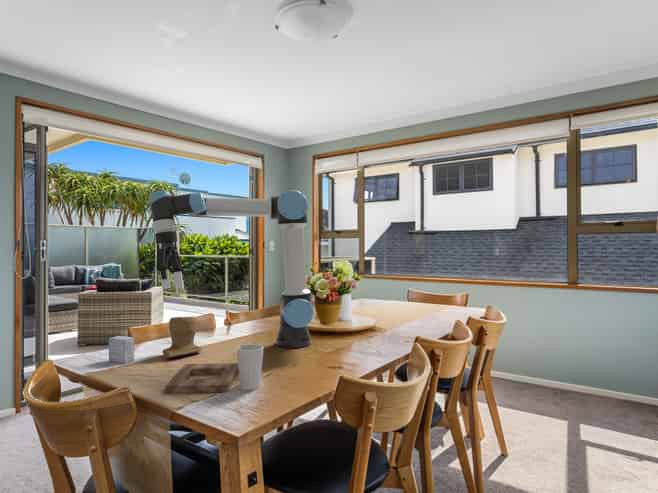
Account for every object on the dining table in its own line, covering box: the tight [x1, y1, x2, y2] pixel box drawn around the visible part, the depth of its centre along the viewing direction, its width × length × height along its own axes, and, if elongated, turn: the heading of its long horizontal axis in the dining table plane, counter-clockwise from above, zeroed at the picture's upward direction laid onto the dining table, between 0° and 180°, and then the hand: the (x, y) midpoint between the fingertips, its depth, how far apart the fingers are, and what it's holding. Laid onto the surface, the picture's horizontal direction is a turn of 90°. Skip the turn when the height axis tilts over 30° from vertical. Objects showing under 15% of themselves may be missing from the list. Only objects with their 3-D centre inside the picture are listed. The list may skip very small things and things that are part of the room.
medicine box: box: [108, 335, 135, 364], centre depth 150 cm, size 8×4×9 cm, turn 71°
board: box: [164, 362, 239, 394], centre depth 130 cm, size 18×22×2 cm
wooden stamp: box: [161, 316, 203, 359], centre depth 160 cm, size 15×12×15 cm
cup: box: [236, 343, 264, 391], centre depth 125 cm, size 8×8×12 cm
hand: (173, 288), depth 151 cm, fingers open, 13 cm apart
